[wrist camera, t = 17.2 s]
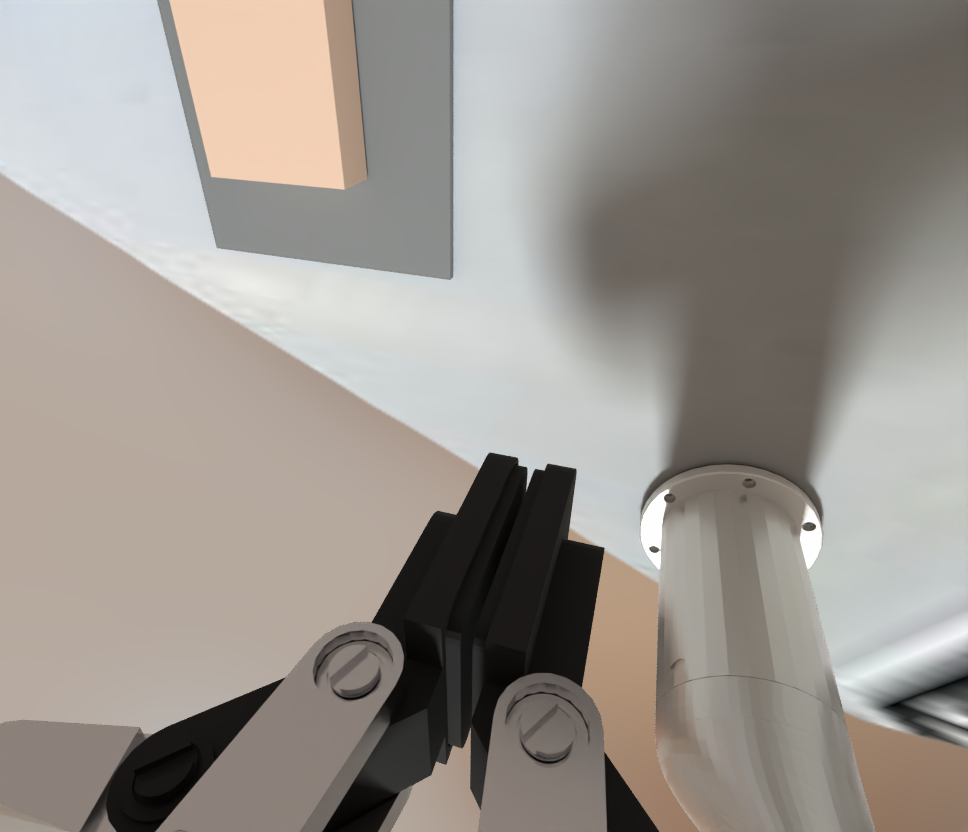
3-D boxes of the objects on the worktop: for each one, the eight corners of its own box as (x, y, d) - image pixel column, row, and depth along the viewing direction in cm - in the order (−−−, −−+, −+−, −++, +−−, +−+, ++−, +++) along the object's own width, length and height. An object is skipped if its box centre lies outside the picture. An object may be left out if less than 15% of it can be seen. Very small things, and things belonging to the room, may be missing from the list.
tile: (344, 189, 32) (211, 177, 34) (369, 178, 35) (243, 167, 37) (319, -32, 27) (161, -32, 29) (351, -25, 29) (204, -26, 31)
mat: (453, 276, 38) (450, 279, 37) (222, 245, 41) (216, 247, 41) (453, -195, 25) (448, -199, 25) (122, -179, 29) (113, -182, 28)
